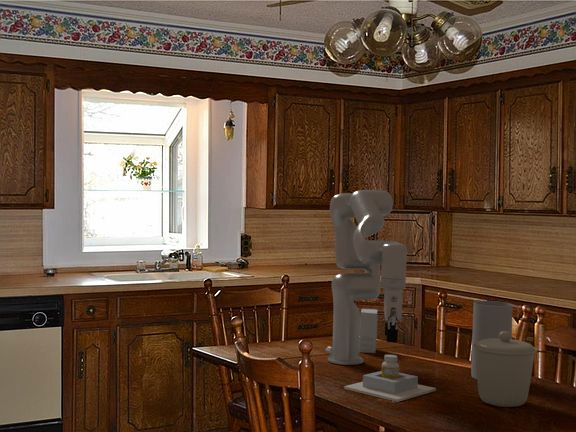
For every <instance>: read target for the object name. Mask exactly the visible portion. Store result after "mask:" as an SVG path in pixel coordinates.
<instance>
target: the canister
mask: <svg viewBox="0 0 576 432" xmlns="http://www.w3.org/2000/svg"><path fill="white" fill-rule="evenodd" d="M473 348H475V357H476V370H477V380H476V381H477V389H478V390H477V391H478V395H479V398H480V399H481V400H482V402H483V403H486V404H488V405H491V406H496V407H500V408H516V407H520V406H522V405H524V404H525V403H526V401H527V399H528V396H529V392H530V388H531V387H530V386H531V381H532V373H533V366H534V359H535V354H536V353H537V352H538V349H537V348H536V347H534V346H533V345H532V344H531V343H529V342H526V341H523V340H518V339H513V338H512V339H511V334H510V333H509V332H508V331H502V332H500V333H499V338H490V339H483V340H480V341H478V342H477V343H474V344H473Z"/></svg>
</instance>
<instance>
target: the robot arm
mask: <svg viewBox="0 0 576 432" xmlns="http://www.w3.org/2000/svg"><path fill="white" fill-rule="evenodd" d="M330 199H331V200H330V202H329V214H330V219H331V222H332V226H333V229H334V246H335V247H334V252H335V257H334V258H335V259H334V260H335V264H336V266H337V267H338V268H340V269H342V270H364V272H343V273H337V274H336V275H335V276H334V277H333V278H332V280H331V292H332V299H333V302H332V303H333V305H332V306H333V317H332V318H333V319H332V324H333V325H332V346H327V347H326V348H325V350H324V352H325V353H327V354H329V356H327V357H328V358H327V361H328V362H329V363H331V364H334V365H343V366H344V365H345V366H354V365H355V366H356V365H360V364H363V363H364V358H363V357H361V356H360V352H359V341H360V318H361V311H360V309H359V307H358V306H357V304H356V303H355V301H367V300H368V301H371V300H376V299H378V297H379V296H380V294H381V289H384V290H383V292H384V293H383V294H384V295H383V314H384V320H385V322H384V335H385V337H386V342H387V343H396V344H397V343H398V338H399V337H398V333H399V330H398V329H399V328H398V322H399V323H401V322H402V321H403V319H402V318H403V312H402V311H403V290H406V280H407V277H406V276H407V253H408V249H407V248H408V247H407V245H405V244H404V243H400V242H398V241H397V240H383V239H382V240H380V239H379V240H378V239H377V240H375V239H372V240H369V239H368V240H367V238H368V237H371V236H373V235H376V234H377V233H379V232H380V231H381V230H382V229H383V227H384V225H385V218H384V217H385V216H388V215H389V214H390V213H391V212H392V210H393V208H394V201H393V197H392V195H391V194H390V193H389V192H388V191H387V190H379V189H378V190H377V189H360V190H356V191H354V192H353V193H350V192H349V193H348V192H346V193H345V192H344V193H343V192H342V193H338V194H335V195H334V196H333V197H332V198H330ZM352 218H355V220H356V222H357V224H358V225H356V223H355V222H354V221H353V220H352Z"/></svg>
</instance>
